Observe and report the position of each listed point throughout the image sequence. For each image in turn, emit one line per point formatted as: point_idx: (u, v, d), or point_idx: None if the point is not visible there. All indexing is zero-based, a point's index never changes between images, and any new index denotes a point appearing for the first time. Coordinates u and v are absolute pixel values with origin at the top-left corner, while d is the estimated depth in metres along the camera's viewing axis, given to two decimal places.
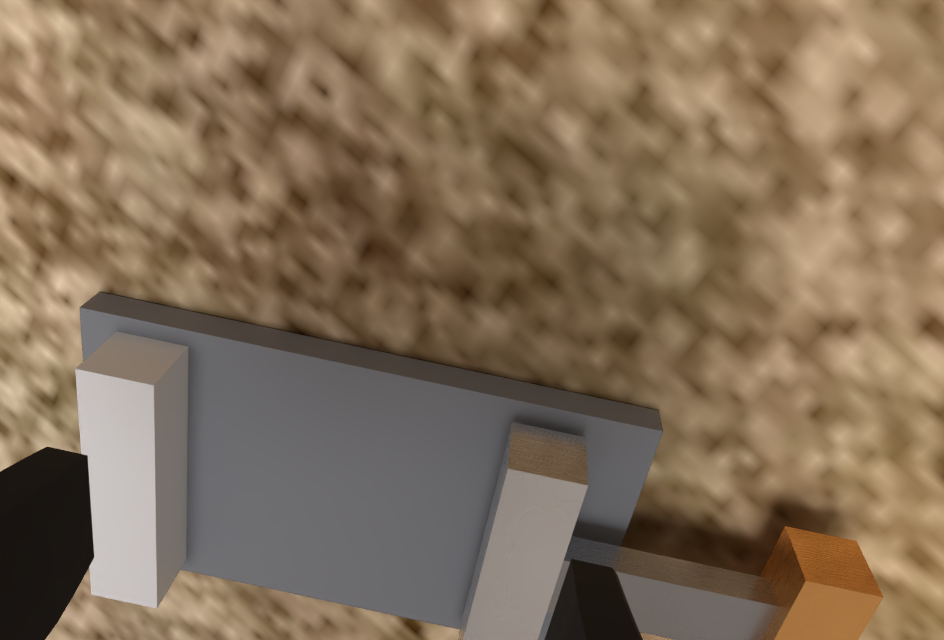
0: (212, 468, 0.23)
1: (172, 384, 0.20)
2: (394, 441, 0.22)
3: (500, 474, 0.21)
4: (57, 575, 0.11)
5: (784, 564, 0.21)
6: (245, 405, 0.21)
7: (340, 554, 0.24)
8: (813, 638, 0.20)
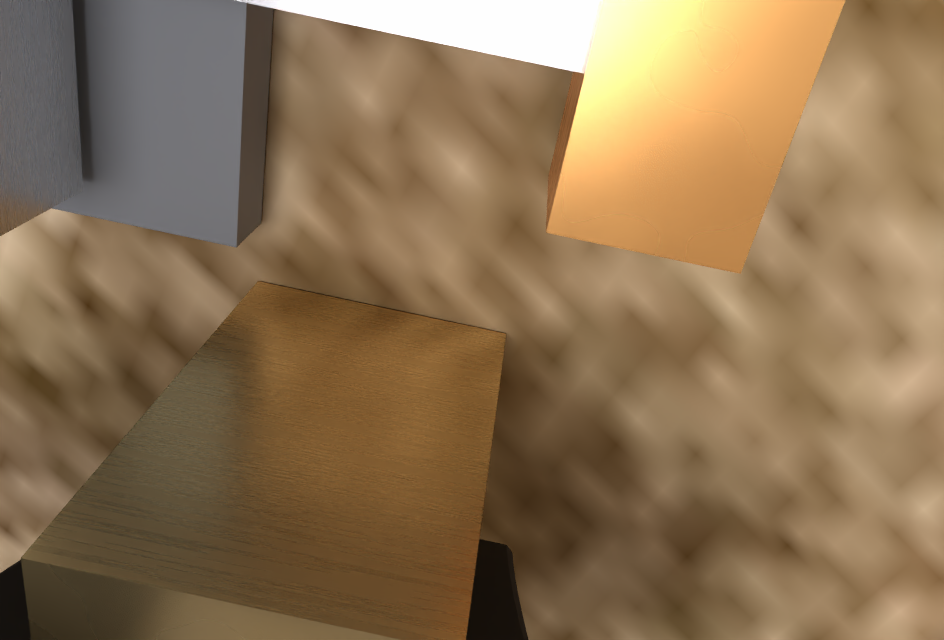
0: None
1: None
2: None
3: None
4: None
5: None
6: None
7: None
8: None
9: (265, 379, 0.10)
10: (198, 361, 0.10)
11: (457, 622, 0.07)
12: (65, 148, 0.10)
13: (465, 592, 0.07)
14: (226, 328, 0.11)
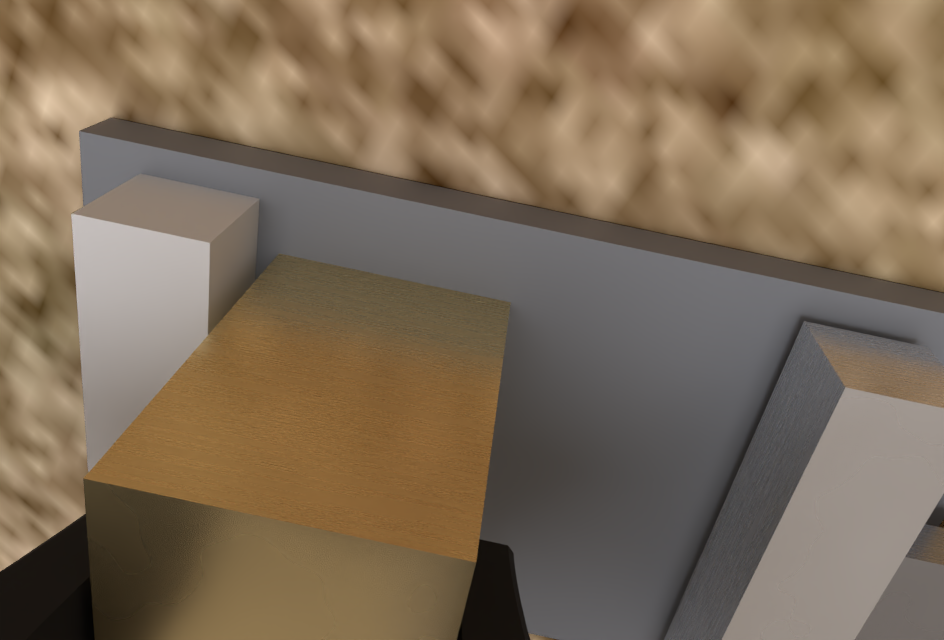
0: None
1: (235, 256, 0.12)
2: (589, 361, 0.13)
3: (778, 410, 0.12)
4: None
5: None
6: None
7: None
8: None
9: (290, 337, 0.11)
10: (228, 321, 0.11)
11: (470, 538, 0.08)
12: None
13: (476, 514, 0.08)
14: (252, 293, 0.12)
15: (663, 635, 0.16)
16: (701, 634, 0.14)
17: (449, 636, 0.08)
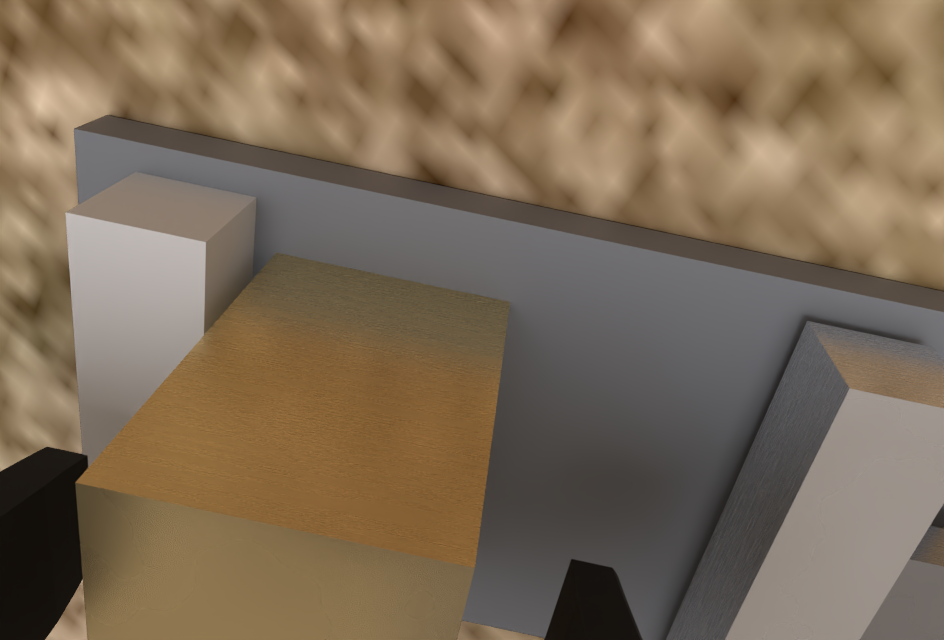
0: None
1: (232, 255, 0.12)
2: (590, 361, 0.13)
3: (781, 411, 0.12)
4: (57, 575, 0.11)
5: None
6: None
7: (478, 547, 0.15)
8: None
9: (287, 338, 0.11)
10: (224, 321, 0.11)
11: (468, 543, 0.08)
12: None
13: (475, 518, 0.08)
14: (249, 293, 0.11)
15: (664, 637, 0.16)
16: (703, 636, 0.14)
17: None
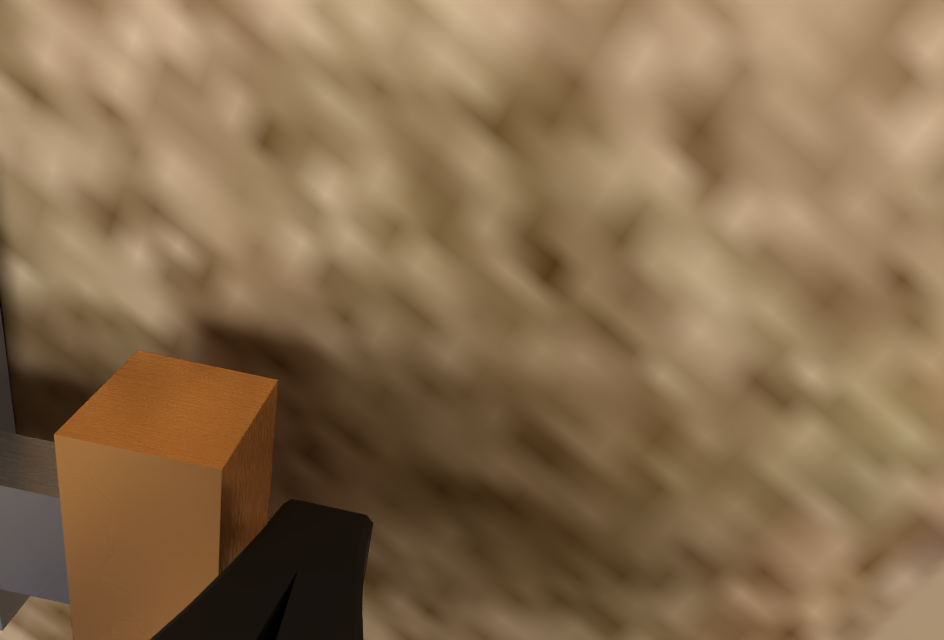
0: None
1: None
2: None
3: None
4: None
5: None
6: None
7: None
8: (136, 566, 0.10)
9: None
10: None
11: None
12: None
13: None
14: None
15: None
16: None
17: None
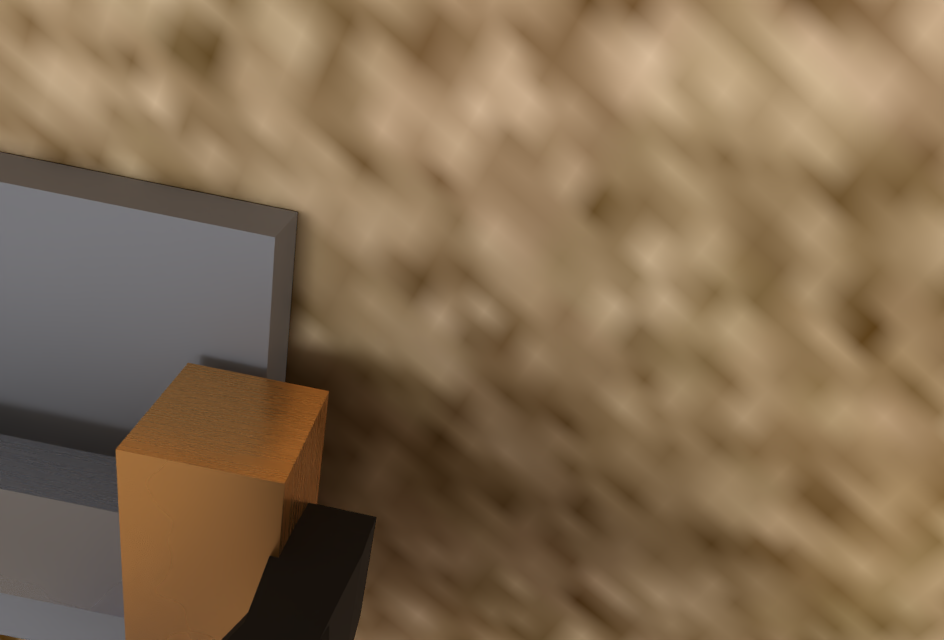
0: None
1: None
2: None
3: None
4: (349, 638, 0.11)
5: None
6: None
7: None
8: (193, 580, 0.10)
9: None
10: None
11: None
12: None
13: None
14: None
15: (37, 613, 0.14)
16: None
17: None
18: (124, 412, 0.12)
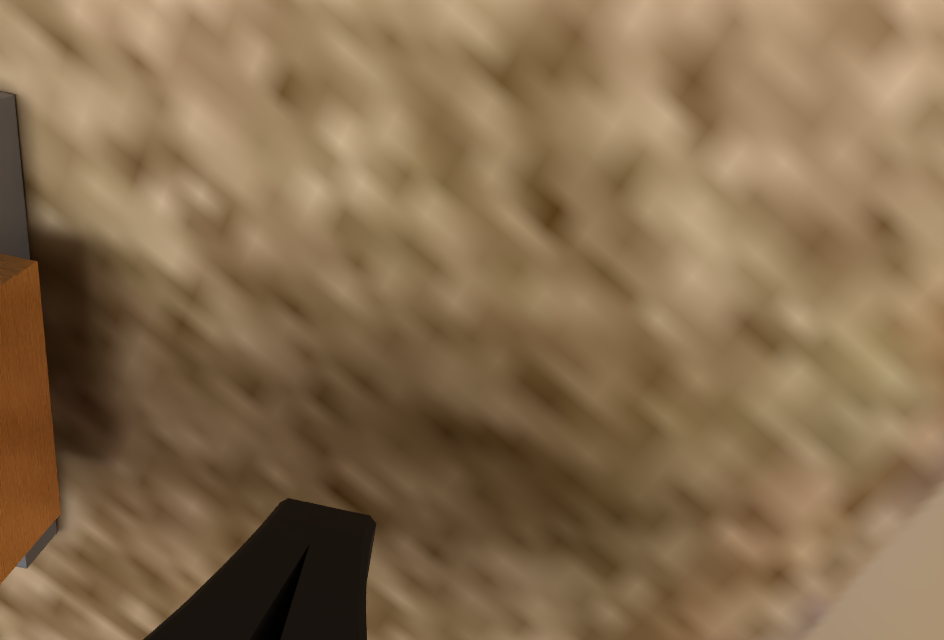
0: None
1: None
2: None
3: None
4: None
5: None
6: None
7: None
8: None
9: None
10: None
11: None
12: None
13: None
14: None
15: None
16: None
17: None
18: None
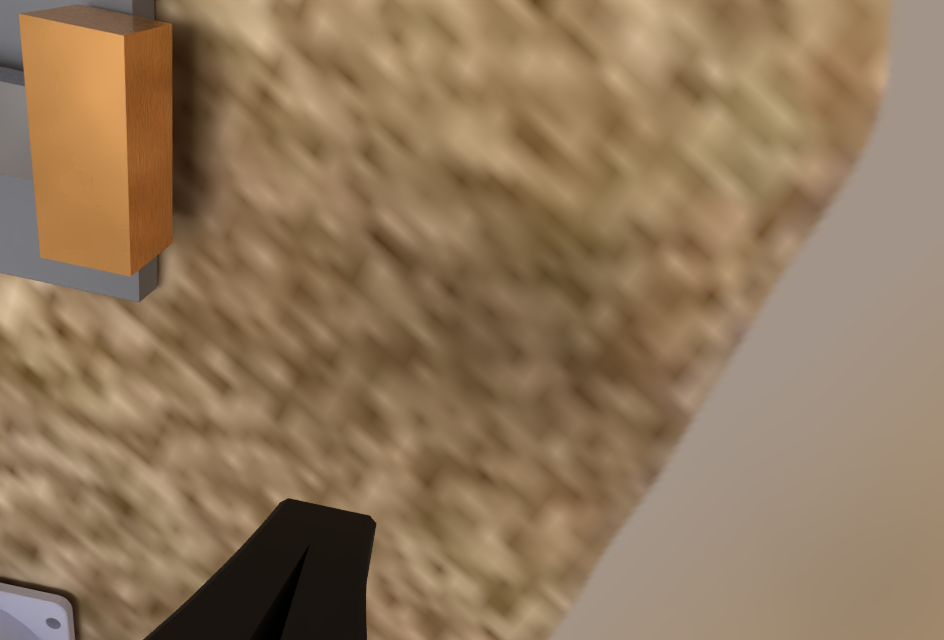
0: None
1: None
2: None
3: None
4: None
5: None
6: None
7: None
8: (74, 123, 0.15)
9: None
10: None
11: None
12: None
13: None
14: None
15: None
16: None
17: None
18: None
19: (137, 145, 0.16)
